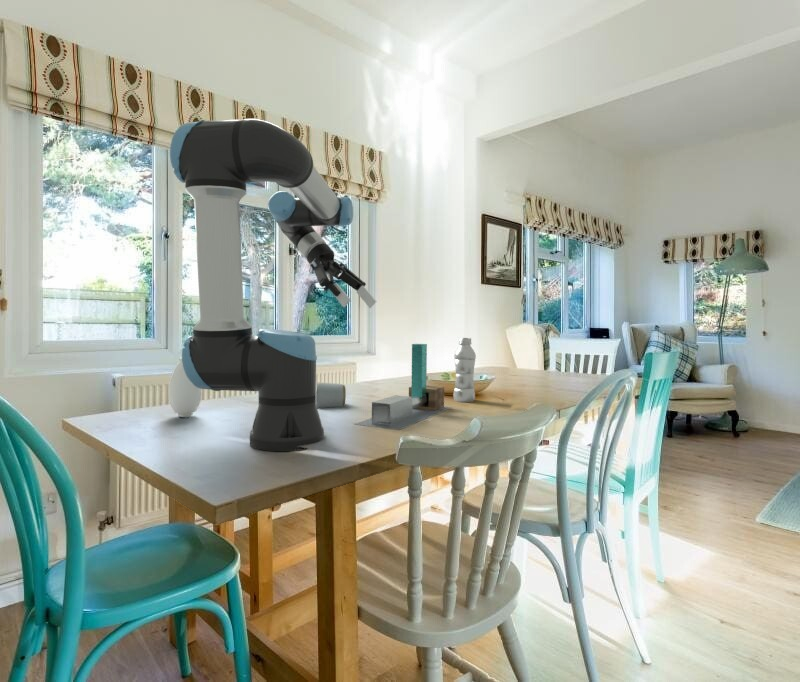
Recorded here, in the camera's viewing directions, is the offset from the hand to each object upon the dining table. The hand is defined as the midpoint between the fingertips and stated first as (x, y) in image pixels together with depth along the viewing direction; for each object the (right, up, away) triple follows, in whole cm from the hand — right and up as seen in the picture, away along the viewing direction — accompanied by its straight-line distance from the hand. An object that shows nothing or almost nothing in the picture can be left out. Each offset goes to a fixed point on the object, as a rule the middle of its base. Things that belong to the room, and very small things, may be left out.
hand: (360, 304), depth 141 cm
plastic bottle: (+30, -29, +14) cm, 44 cm away
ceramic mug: (-9, -30, +5) cm, 32 cm away
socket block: (+18, -29, +1) cm, 34 cm away
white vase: (-45, -30, -10) cm, 55 cm away
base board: (+13, -30, -10) cm, 34 cm away
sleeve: (+9, -30, -17) cm, 35 cm away
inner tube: (+15, -28, -6) cm, 32 cm away
